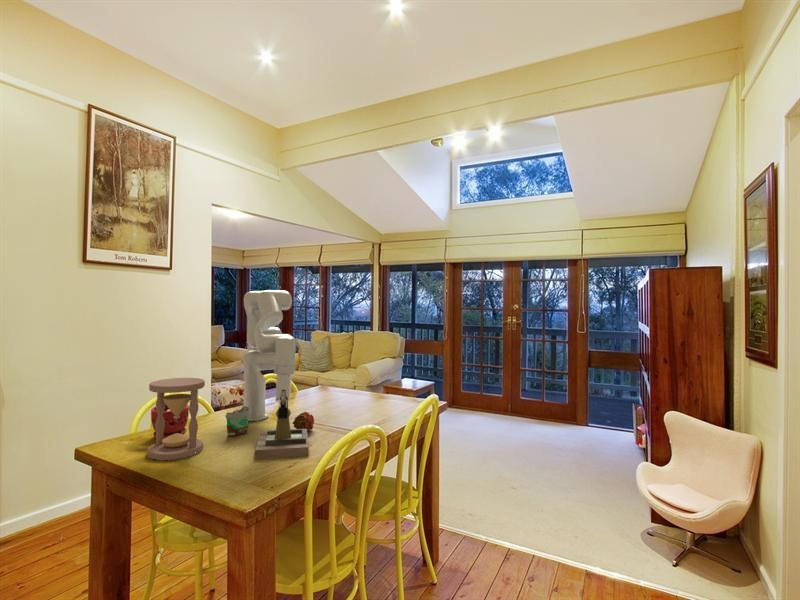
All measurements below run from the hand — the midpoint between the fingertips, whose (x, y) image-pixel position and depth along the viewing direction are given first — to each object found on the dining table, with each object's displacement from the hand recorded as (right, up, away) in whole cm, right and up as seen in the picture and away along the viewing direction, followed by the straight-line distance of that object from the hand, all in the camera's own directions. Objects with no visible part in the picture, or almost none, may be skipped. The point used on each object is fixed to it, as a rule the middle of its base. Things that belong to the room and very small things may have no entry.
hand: (283, 414), depth 156 cm
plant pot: (-48, -11, +9) cm, 50 cm away
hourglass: (-36, -11, -8) cm, 39 cm away
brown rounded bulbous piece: (0, -9, 0) cm, 9 cm away
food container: (-21, -12, +13) cm, 28 cm away
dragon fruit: (+3, -13, +20) cm, 24 cm away
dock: (0, -12, -1) cm, 12 cm away
